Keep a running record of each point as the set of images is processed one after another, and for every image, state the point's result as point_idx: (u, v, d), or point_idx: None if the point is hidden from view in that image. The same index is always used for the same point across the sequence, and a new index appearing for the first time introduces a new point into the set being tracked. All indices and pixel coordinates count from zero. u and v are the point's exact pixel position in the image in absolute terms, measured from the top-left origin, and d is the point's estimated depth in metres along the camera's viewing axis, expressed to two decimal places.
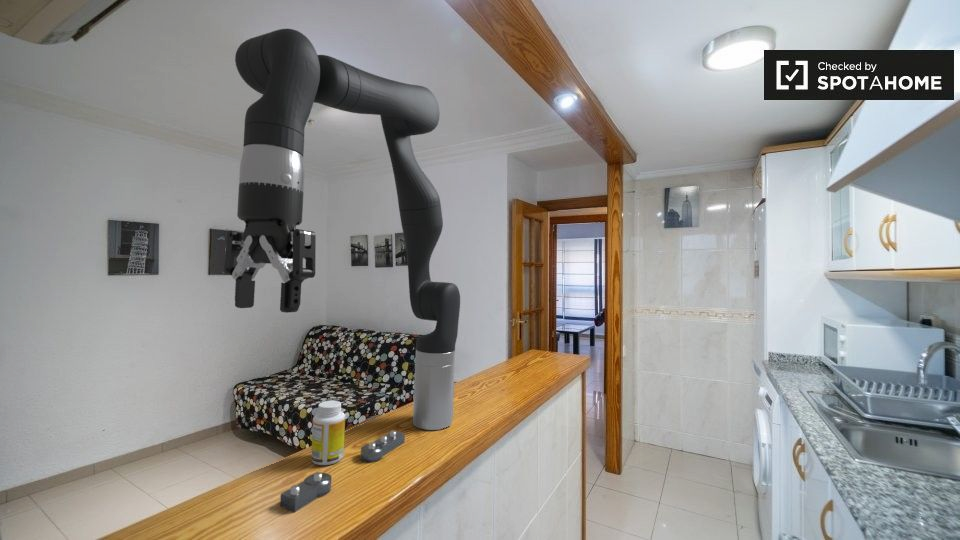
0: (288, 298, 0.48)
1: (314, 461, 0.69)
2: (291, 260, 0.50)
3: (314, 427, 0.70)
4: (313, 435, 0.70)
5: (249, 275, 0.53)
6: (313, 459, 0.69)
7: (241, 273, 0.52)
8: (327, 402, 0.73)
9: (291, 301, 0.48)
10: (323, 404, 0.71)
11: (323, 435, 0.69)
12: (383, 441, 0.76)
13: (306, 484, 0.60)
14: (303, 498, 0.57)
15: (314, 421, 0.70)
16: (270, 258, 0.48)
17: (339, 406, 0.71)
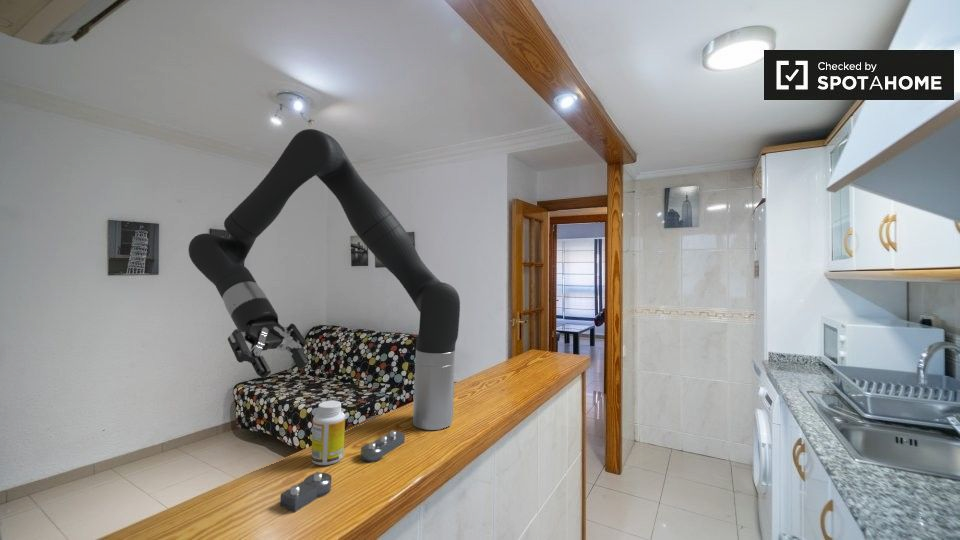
0: None
1: (314, 461, 0.69)
2: (254, 346, 0.75)
3: (314, 427, 0.70)
4: (313, 435, 0.70)
5: (294, 348, 0.81)
6: (313, 459, 0.69)
7: (289, 352, 0.82)
8: (327, 402, 0.73)
9: (256, 372, 0.72)
10: (323, 404, 0.71)
11: (323, 435, 0.69)
12: (383, 441, 0.76)
13: (306, 484, 0.60)
14: (303, 498, 0.57)
15: (314, 421, 0.70)
16: None
17: (339, 406, 0.71)
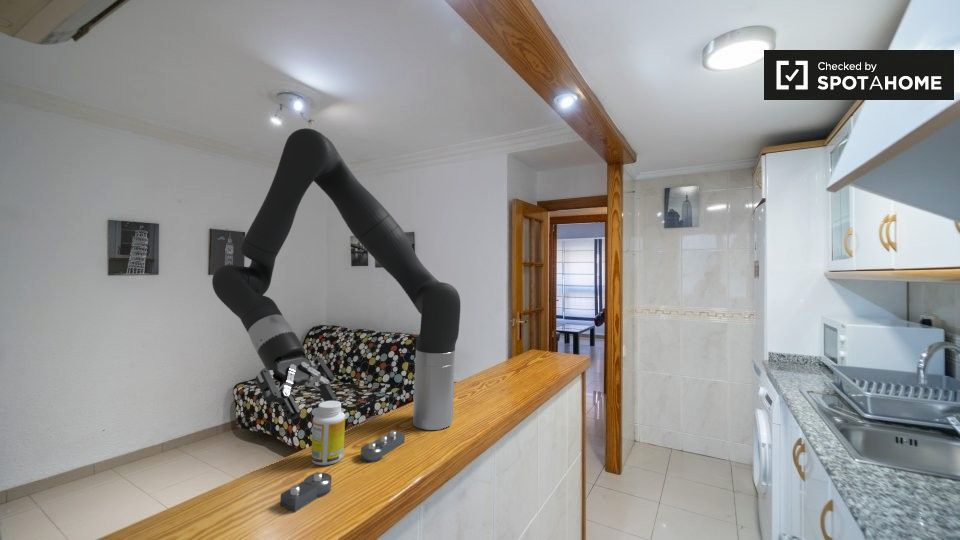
0: None
1: (314, 461, 0.69)
2: (282, 385, 0.72)
3: (314, 427, 0.70)
4: (313, 435, 0.70)
5: (321, 384, 0.78)
6: (313, 459, 0.69)
7: (316, 388, 0.78)
8: (327, 402, 0.73)
9: (286, 413, 0.69)
10: (323, 404, 0.71)
11: (323, 435, 0.69)
12: (383, 441, 0.76)
13: (306, 484, 0.60)
14: (303, 498, 0.57)
15: (314, 421, 0.70)
16: None
17: (339, 406, 0.71)
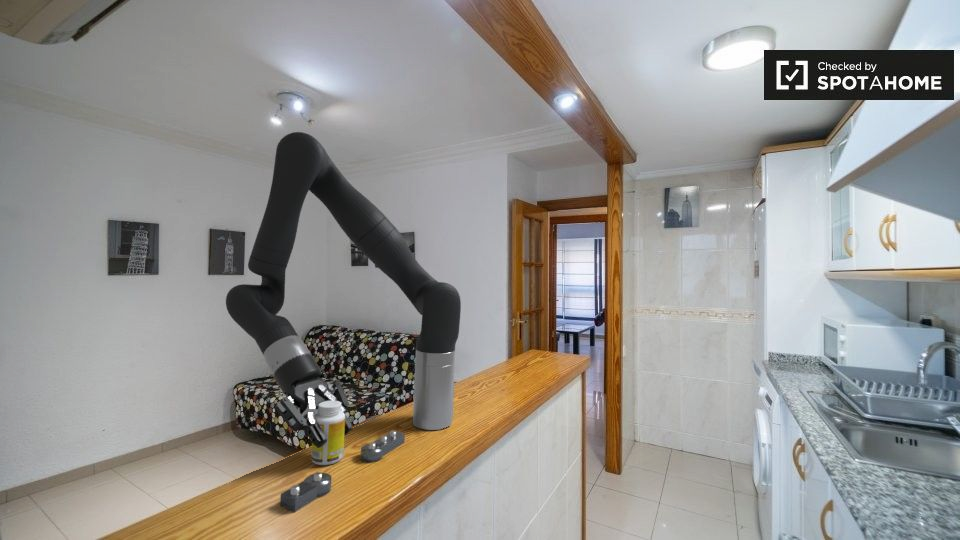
0: None
1: (314, 461, 0.69)
2: (305, 411, 0.70)
3: None
4: None
5: None
6: (313, 459, 0.69)
7: None
8: (327, 402, 0.73)
9: (312, 441, 0.68)
10: (323, 404, 0.71)
11: None
12: (383, 441, 0.76)
13: (306, 484, 0.60)
14: (303, 498, 0.57)
15: None
16: None
17: (339, 406, 0.71)
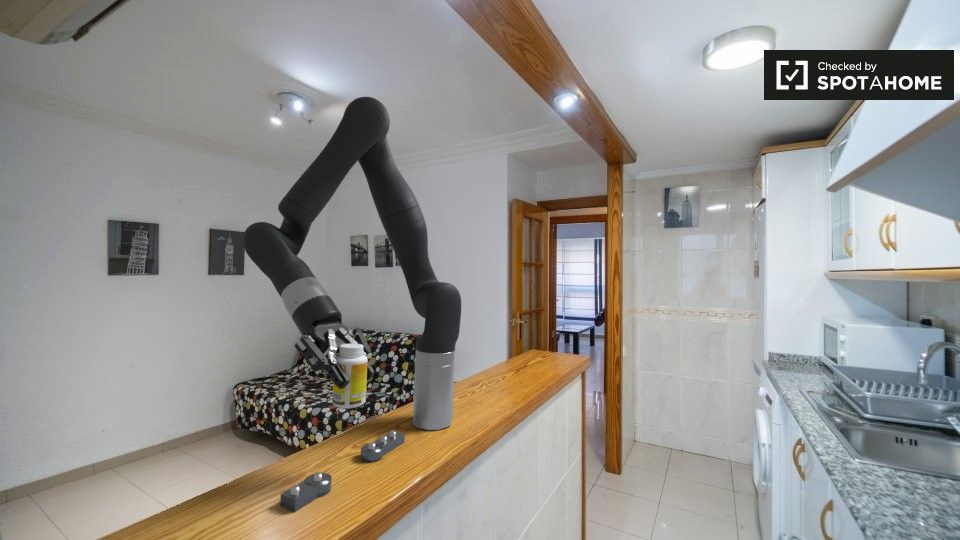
0: None
1: (336, 404, 0.65)
2: (326, 352, 0.66)
3: None
4: None
5: None
6: (334, 402, 0.65)
7: None
8: (348, 344, 0.68)
9: (334, 382, 0.64)
10: (344, 345, 0.67)
11: None
12: (383, 441, 0.76)
13: (306, 484, 0.60)
14: (303, 498, 0.57)
15: None
16: None
17: (361, 347, 0.67)
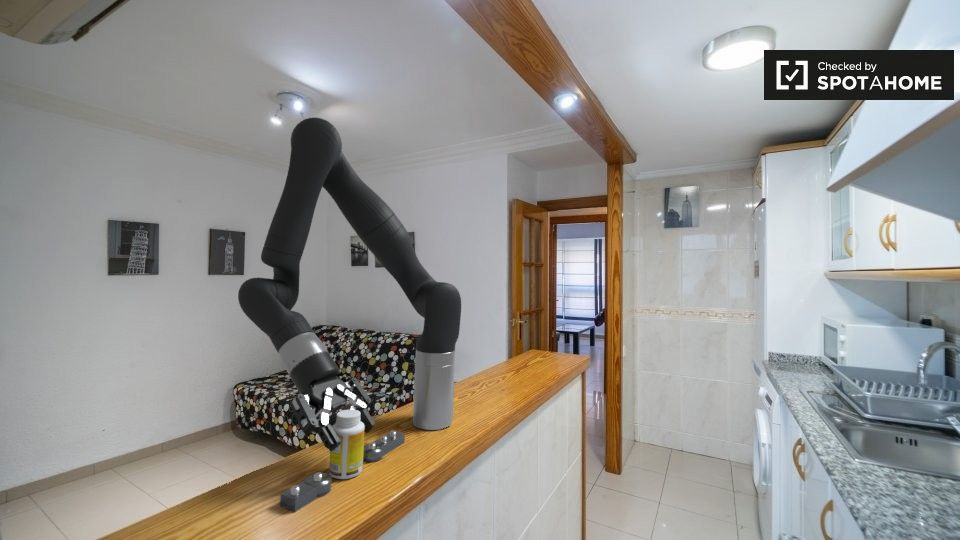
0: None
1: (332, 475, 0.65)
2: (319, 411, 0.65)
3: None
4: None
5: (358, 408, 0.72)
6: (331, 472, 0.65)
7: None
8: (345, 411, 0.68)
9: (324, 444, 0.62)
10: (341, 414, 0.67)
11: (342, 447, 0.65)
12: (383, 441, 0.76)
13: (306, 484, 0.60)
14: (303, 498, 0.57)
15: None
16: None
17: (359, 415, 0.67)
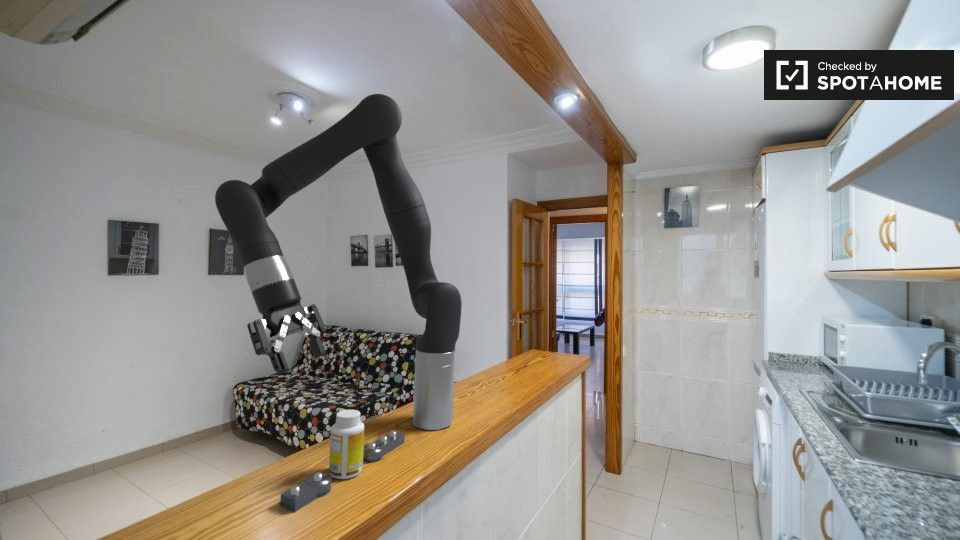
0: None
1: (332, 475, 0.65)
2: (274, 337, 0.70)
3: (332, 438, 0.65)
4: (331, 447, 0.65)
5: (312, 335, 0.77)
6: (331, 472, 0.65)
7: (306, 336, 0.77)
8: (345, 411, 0.68)
9: (274, 368, 0.69)
10: (341, 414, 0.67)
11: (342, 447, 0.65)
12: (383, 441, 0.76)
13: (306, 484, 0.60)
14: (303, 498, 0.57)
15: (332, 432, 0.65)
16: None
17: (358, 415, 0.67)
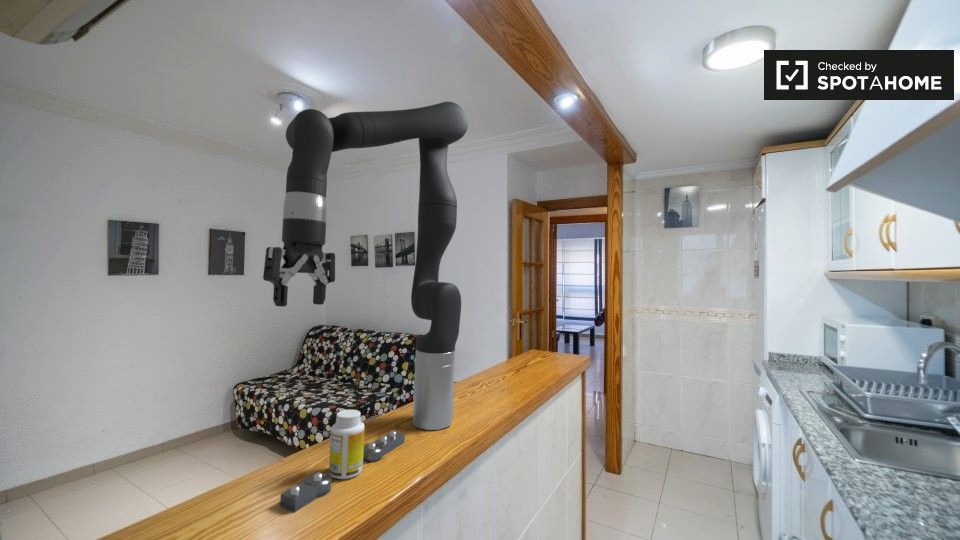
0: None
1: (332, 475, 0.65)
2: (286, 269, 0.70)
3: (332, 438, 0.65)
4: (331, 447, 0.65)
5: (320, 282, 0.77)
6: (331, 472, 0.65)
7: (314, 280, 0.77)
8: (345, 411, 0.68)
9: (273, 298, 0.68)
10: (341, 414, 0.67)
11: (342, 447, 0.65)
12: (383, 441, 0.76)
13: (306, 484, 0.60)
14: (303, 498, 0.57)
15: (332, 432, 0.65)
16: None
17: (358, 415, 0.67)
